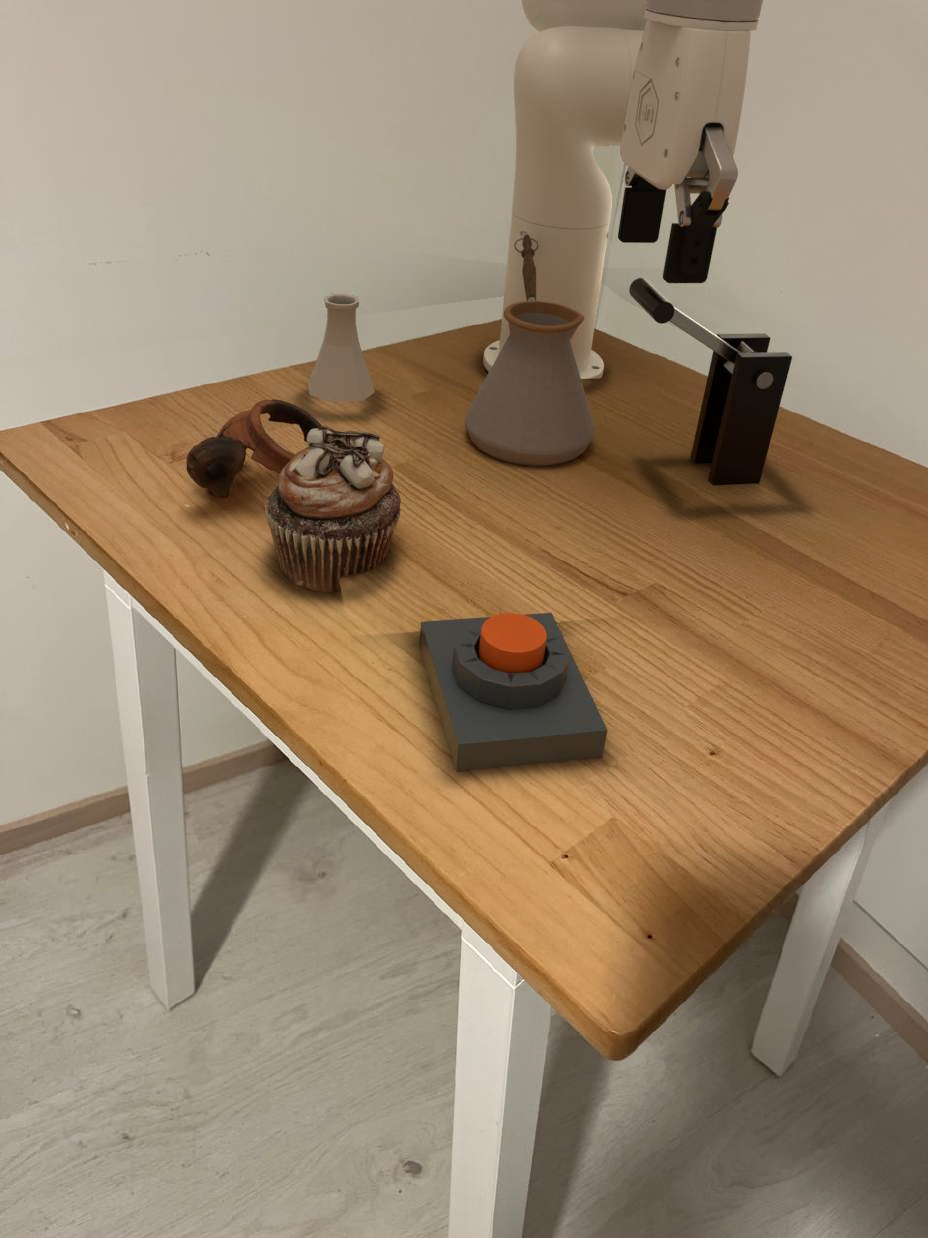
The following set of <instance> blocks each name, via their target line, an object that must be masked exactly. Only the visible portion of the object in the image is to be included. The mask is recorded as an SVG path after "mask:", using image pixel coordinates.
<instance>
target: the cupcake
mask: <svg viewBox="0 0 928 1238" xmlns="http://www.w3.org/2000/svg"><path fill="white" fill-rule="evenodd" d="M380 438H381V437H380V436H379V435H377V434H375V433H372V432H366V431H356V430H347V431H339V430H335V429H333V428H331V427H329V426H327V425H322V426H321V427H320V428H319V429H312V430H310V432H309V433H308V436H307V442H306V444H307V447H305V448H303V449H302V450H299V451H298V452H297V453H295V456H293V457H292V458H291V460H290V462H288V463H287V465H286V466H285V467H284V468H283V470H282V471H281V473H280V474H278V475H279V476H278V481H277V486H275V488H274V489H273V490H272V491H271V492H270V494H267V499H265V501H266V503H264V504H263V505H264V508H265V509H264V513H265V518H266V520H267V523H268V527H269V529H270V534H271V537H272V542H273V545H274V549H275V553H276V556H277V561H278V565H279V569H280V572H281V573H282V575H283V576H285V578H286V579H287V580H288V581H289V582H292V583H293V584H294V585H295V586H296V585H297V586H298V587H302V588H306V589H307V590H311V591H315V592H322V593H333V592H338V593H340V592H341V593H342V588H341V587H342V586H341V583H340V580H339V579H340V578H341V577H345V578H347V577H349V576H356V575H357V574H361V575H362V574H364V573H365V572H370V569H375V568H376V566H378V565H380V564H381V563H382V562H384V559H386V558H387V557H388V553H389V551H390V550H389V549H390V546H391V543H392V540H393V535H394V533H395V531H396V528H397V526H398V524H399V523H398V522H399V521H400V517H401V503H402V499H401V496H400V493H399V491H398V490H397V489H396V487H395V486H394V483H393V481H394V470H393V468H392V466H391V465H390V464H389V463H388V462H387V461H386V460H385V459H384V458H383V456H384V452H385V445H384V444H383V443H382V442H381V441H380Z"/></svg>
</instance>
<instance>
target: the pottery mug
mask: <svg viewBox="0 0 928 1238" xmlns="http://www.w3.org/2000/svg"><path fill="white" fill-rule="evenodd" d="M265 414H266V415H267V414H268V415H269V418H268V419H267V420H268V421H269V422H273V423H283V424H287V425H296V426H298V427H299V428H300V431H301V433H302V435H303V440H304V442H306V443H307V436H308V433H309V432H310V430H312V429H319V428H320V427H321V426H323V425H322V424H321V422H319V420H317V419H316V418H315V417H314V416H313V415H312V414H310V413H309V412H308V411H306V410H305V409H303V408H301V407H300V406H298V405H296V404H293V403H291V402H288V401H285V400H281V399H276V398H272V399H263V400H259V401H258V402H256V403H255V404H254V405H253V406H252V407H251V409H249V410H248V409H247V410H245V411H241V412H238V413H237V414H235V415H234V416H231V417H230V418H229V419H228V420H227V421H226V422H225V423H224V424H223V426H222V427H221V428H220V430H219V431H218V433H217V435H216V436H210V437H208V438H206V439H204V440H202V441H200V442H199V443H198V444H196V445H194V446H193V447H192V448H191V449H190V450H189V452H188V453H187V455H186V461H185V462H186V472H187V474H188V475H189V478H190V479H191V480H192V481H193V482H194V483H195V484H196V485H197V486H198V487H200V488H202V489H205V490H206V492H207V493H210V494H211V493H212V494H213V495H214V496H215V497H217V498H220V499H224V500H227V499H228V498H229V497H230V492H231V488H232V485H233V483H234V480H235V479H236V476H237V474H238V473H239V472H240V471H241V470H242V468H243V467H244V464H245V462H246V457H247V449H249V450H251V451H252V454H251V456H250V459H251V460H253V461H254V462H256V463H258V464H260V465H261V466H263V467H264V468H266V469H268V470H269V471H271V472H275V473H276V474H278V475H280V473H281V471H282V470H283V468H284V467H285V466H286V465H287V463H288V462H290V460H291V458H292V457H293V456H295V455H296V453H293V452H291V451H289V450H286V449H285V448H284V447H282V446H281V445H280V444H278V443H277V442H276V441H275V440H274V439H273V438H272V437H271V436H270V435H269V434H268V433H267V432H266V429H265V428H264V426H263V424H262V420H261V415H265Z"/></svg>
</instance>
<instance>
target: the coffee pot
mask: <svg viewBox="0 0 928 1238" xmlns="http://www.w3.org/2000/svg"><path fill="white" fill-rule="evenodd" d="M520 240H523V243H522V245H523V247H524V249H523V250H522V251H519V250H518V249H517V248H516V246H515V245H516V243H517V242H518V241H520ZM531 240H533V241H535V242H536V243H537V247H536V249H535V250H533V249H532V248H531V246H532V242H531ZM514 247H515V250H516V251H518V252H519V253H521V256H522V257H523V258H524V262H523V269H522V273H523V280H524V286H525V293H526V300H527V301H524V302H517V303H513V304H511V305H509V306H507V307H506V308H505V310H504V317H505V319H506V320H507V321H508V323H509V331H510V335H509V337H508V339H507V340H506V342H505V344H504V346H503V348H502V349H501V351H500V353H499V355H498V357H497V359H496V360H495V362H494V364H493V366H492V368H491V369H490V371H489V372H488V373H487V375H486V377H485V379H484V380H483V381H482V384H481V385H480V386H479V387H480V388H479V389H478V391H477V393H476V395H475V397H474V398H473V400H472V402H471V403H470V406H469V407H468V409H467V411H466V414H465V419H464V425H465V428H466V430H467V433H468V436H469V438H470V441H471V442H472V443H473V444H474V445H475V446H476V447H477V448H478V449H479V450H480V451H481V452H483V453H485V454H486V455H488V456H490V457H492V458H495V459H497V460H500V461H502V462H506V463H510V464H515V465H519V466H520V465H522V466H531V467H544V466H545V467H548V466H550V467H551V466H554V465H560V464H561V465H562V464H565V463H568V462H570V461H573V460H575V459H576V458H578V457H579V456H580V455H582V454H584V453H585V451H586V450H587V448H588V447H589V446H590V444H591V442H592V441H593V439H594V438H595V423H594V420H593V416H592V412H591V409H590V406H589V403H588V399H587V395H586V391H585V389H584V385H583V382H582V379H581V378H580V374H579V371H578V367H577V364H576V360H575V357H574V353H573V350H572V346H571V343H570V339H571V338H572V336H573V334H574V333H575V331H576V330H577V328H578V326H579V325H580V324H581V323H582V322H583V320H584V316H583V315H581V314H580V313H579V312H577V311H575V310H573V309H571V308H569V307H567V306H563V305H560V304H556V303H551V302H543V301H536V267H535V264H534V261H533V257H534V254H535V253H534V252H535V251H536V250H537V248H538V242H537V241H536V240H535V239H533V238H530V236H529V235H525V236H524V238H520V239H518V240H516V242H515V244H514Z"/></svg>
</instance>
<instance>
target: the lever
mask: <svg viewBox="0 0 928 1238" xmlns="http://www.w3.org/2000/svg"><path fill="white" fill-rule="evenodd" d="M628 289H629V295H630V296H631V298H632V299H633V300H634V301H635V302H636V303H637V304H638V305H639V306H640V307H642V309H643V310H644V311H645V312H646V313H647V314H648V315H649V316H650V318H652V319H653V320H654V322H656V323H657V324H661V325H662V324H664V325H665V324H667V323H671V324H673V325H674V326H676V327H677V328H679V329H680V330H682V331H683V332H685V333H686V334H688V335H689V336H691V337H692V338H694V339H695V340H696V341H698V342H700V343H701V344H703V345H704V346H706V347H707V348H709V349H710V350H712V352H713V351H715V352H716V353H718V354H719V355H721V356H722V357H724V358H725V359H727V361H726V362H725V363H724V364H723V366H724V367H725V368H726V369H727V370H728V371H729V372H730V373H731V374H732V373H733V369H734V364H735V360H736V356H737V353H759V352H757V351H756V350H754V349H753V348H751V347H750V346H748V345H747V344H746V343H744V342H742V341H741V343H740V344H739V345H738V346H737V348H734V347H733V346H731V345H730V344H728V343H727V342H725V341H724V340H722V339H721V338H719V337H718V336H717V334H715V333H714V332H713V331H711V330H709V329H708V328H707V327H705V326H703V325H701V323H699V322H697V321H695V319H693V318H691V317H690V316H688V315H687V314H686V313H684V312H683V311H681V310H680V309H678V308H677V307H675V306H674V305H673V304H672V303H671V301H669V300H668V299H667V297H665V296H664V295H663V294H662V293H661V292H660V291H659V290H658V289H657V288H656V287H655V286H654V285H653V284H652V283H650V281H649V280H648V279H646V278H644V277H638V278H635V279H634V280H633V281H632V282H631V283H630V285H629V287H628Z"/></svg>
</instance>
